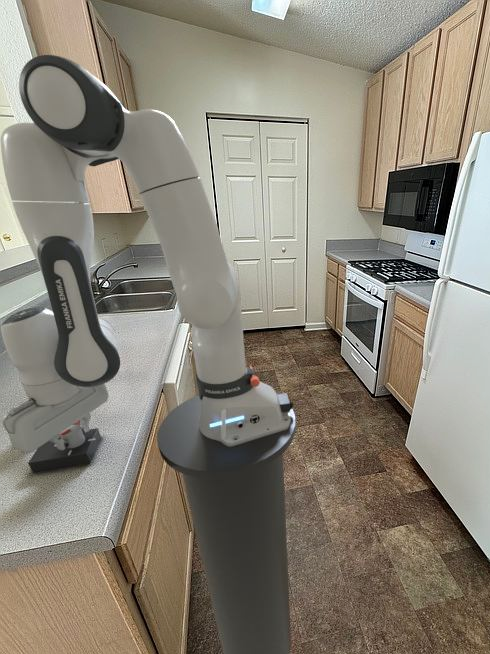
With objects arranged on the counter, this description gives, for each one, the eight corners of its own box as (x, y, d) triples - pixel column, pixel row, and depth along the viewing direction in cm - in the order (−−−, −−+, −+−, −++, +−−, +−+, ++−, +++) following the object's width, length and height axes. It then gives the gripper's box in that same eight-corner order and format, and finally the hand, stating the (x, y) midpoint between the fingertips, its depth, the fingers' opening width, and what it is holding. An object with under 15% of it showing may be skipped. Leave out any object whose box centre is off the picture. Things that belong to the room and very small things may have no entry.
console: (104, 437, 81) (100, 427, 79) (93, 463, 73) (89, 452, 72) (50, 446, 78) (45, 435, 77) (33, 473, 70) (27, 462, 69)
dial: (77, 435, 77) (72, 421, 75) (89, 439, 75) (84, 426, 74) (60, 445, 74) (54, 432, 72) (72, 450, 72) (66, 436, 71)
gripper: (11, 419, 58) (40, 476, 64) (104, 366, 76) (120, 416, 82) (-14, 413, 60) (17, 470, 66) (83, 363, 77) (100, 412, 84)
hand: (74, 439), depth 74 cm, fingers closed on dial, 4 cm apart
